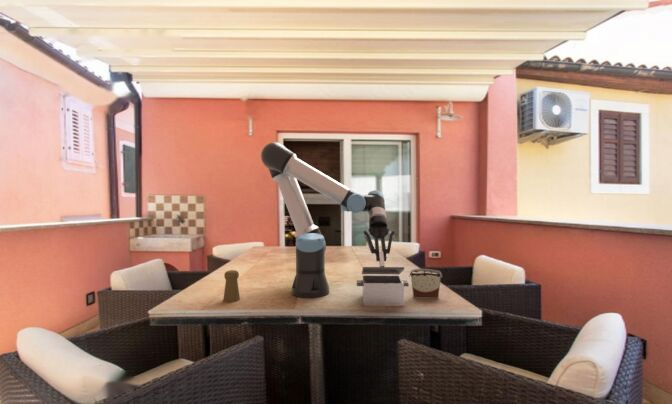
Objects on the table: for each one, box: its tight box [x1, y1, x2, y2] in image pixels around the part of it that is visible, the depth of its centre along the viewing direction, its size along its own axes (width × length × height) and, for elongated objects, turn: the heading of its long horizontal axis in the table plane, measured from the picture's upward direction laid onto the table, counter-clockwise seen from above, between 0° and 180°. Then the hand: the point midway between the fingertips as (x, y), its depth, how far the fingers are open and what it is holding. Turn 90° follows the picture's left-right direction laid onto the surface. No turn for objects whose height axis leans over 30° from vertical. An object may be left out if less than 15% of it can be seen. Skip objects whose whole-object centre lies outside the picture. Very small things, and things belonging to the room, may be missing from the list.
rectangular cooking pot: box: [356, 274, 410, 307], centre depth 119 cm, size 19×12×8 cm, turn 88°
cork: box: [222, 269, 241, 303], centre depth 121 cm, size 6×6×11 cm
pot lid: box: [361, 266, 405, 276], centre depth 119 cm, size 15×12×1 cm
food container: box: [408, 268, 443, 299], centre depth 125 cm, size 12×6×10 cm, turn 84°
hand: (382, 267), depth 120 cm, fingers closed
